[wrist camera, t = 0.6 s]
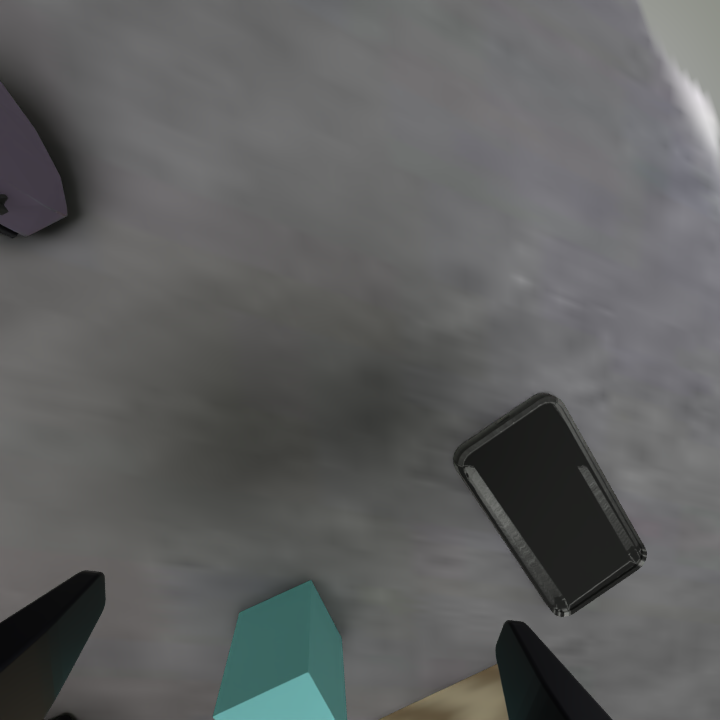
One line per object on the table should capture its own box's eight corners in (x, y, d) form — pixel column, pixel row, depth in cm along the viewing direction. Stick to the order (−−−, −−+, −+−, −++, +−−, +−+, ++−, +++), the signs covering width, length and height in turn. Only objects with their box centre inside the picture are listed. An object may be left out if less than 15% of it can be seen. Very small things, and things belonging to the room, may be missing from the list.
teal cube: (273, 669, 24) (258, 786, 19) (239, 611, 23) (212, 716, 18) (341, 637, 25) (348, 743, 19) (311, 579, 24) (308, 671, 18)
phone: (559, 622, 25) (451, 460, 22) (549, 609, 26) (445, 452, 24) (653, 559, 25) (557, 387, 22) (639, 548, 26) (546, 383, 24)
